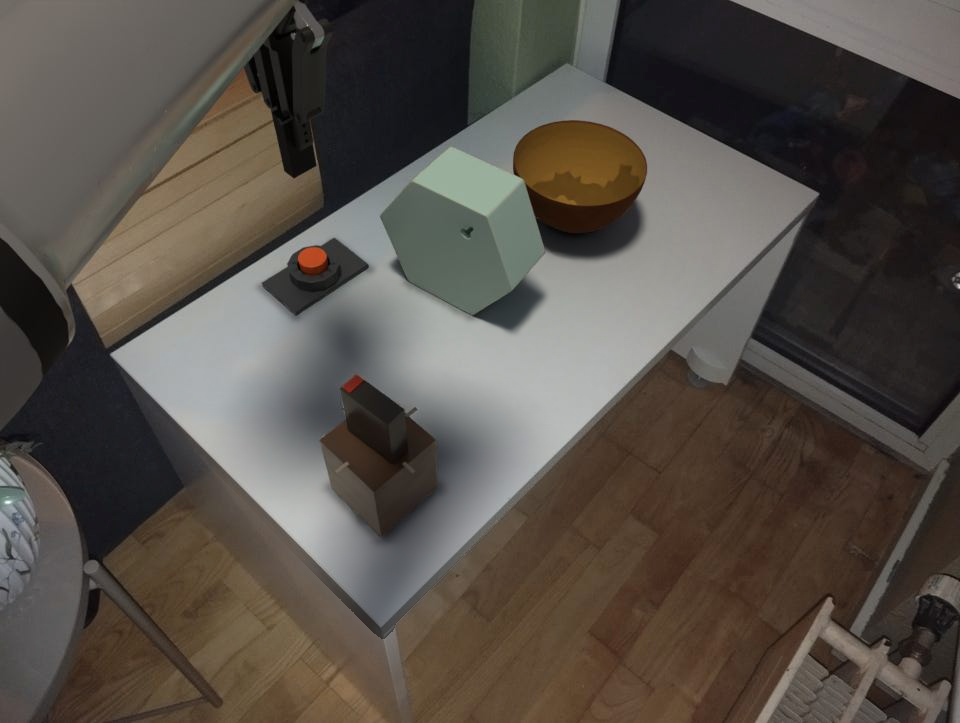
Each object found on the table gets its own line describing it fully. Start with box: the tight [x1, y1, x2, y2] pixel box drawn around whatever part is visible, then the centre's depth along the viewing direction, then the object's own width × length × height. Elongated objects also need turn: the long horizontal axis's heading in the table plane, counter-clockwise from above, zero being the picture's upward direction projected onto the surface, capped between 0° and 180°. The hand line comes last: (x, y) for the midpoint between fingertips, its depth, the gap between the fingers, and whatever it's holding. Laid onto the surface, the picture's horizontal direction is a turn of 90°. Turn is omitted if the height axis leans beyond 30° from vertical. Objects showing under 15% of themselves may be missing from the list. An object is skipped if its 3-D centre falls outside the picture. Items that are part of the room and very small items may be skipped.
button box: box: [261, 237, 369, 316], centre depth 99 cm, size 12×7×2 cm, turn 136°
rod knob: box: [339, 373, 408, 464], centre depth 71 cm, size 6×2×7 cm, turn 51°
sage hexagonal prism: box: [379, 146, 546, 316], centre depth 93 cm, size 17×8×21 cm
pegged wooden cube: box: [318, 406, 438, 538], centre depth 78 cm, size 10×10×10 cm
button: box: [298, 247, 328, 276], centre depth 98 cm, size 4×4×2 cm
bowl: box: [512, 119, 648, 234], centre depth 105 cm, size 18×18×10 cm
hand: (300, 168), depth 73 cm, fingers closed
